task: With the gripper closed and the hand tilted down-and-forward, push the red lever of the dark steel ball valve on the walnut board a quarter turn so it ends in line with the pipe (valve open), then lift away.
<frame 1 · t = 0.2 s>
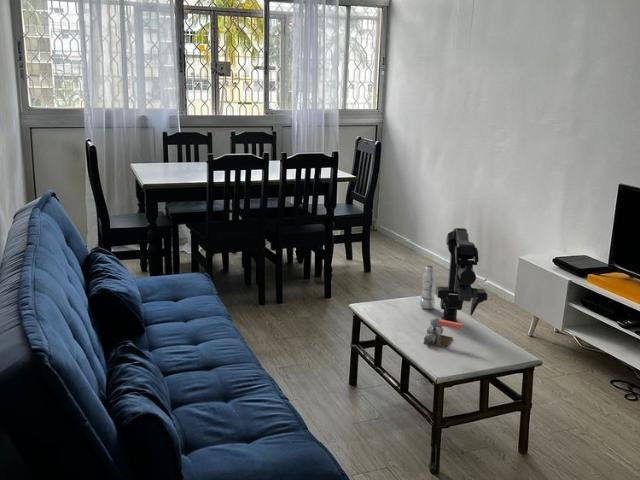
hand: (459, 314, 240), 15 cm above the table, tool pointing down, fingers open, 9 cm apart
plastic bottle: (427, 308, 285), on the table
lever: (446, 323, 247), point 8 cm above the table, hinge at 0.0°
valve: (433, 340, 252), on the table
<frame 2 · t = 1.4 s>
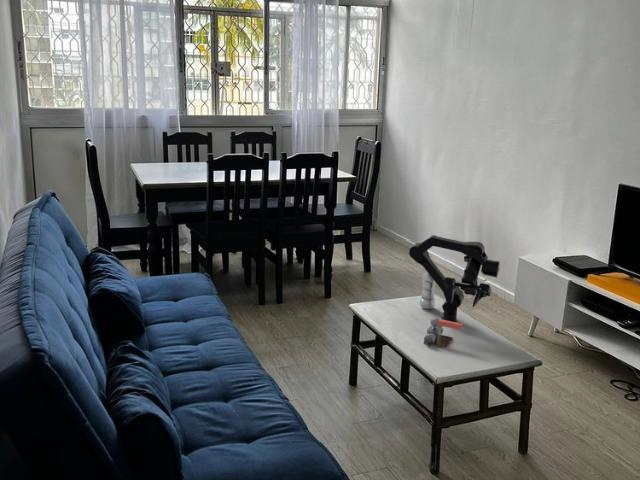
hand: (461, 304, 253), 14 cm above the table, tool tilted 45°, fingers open, 9 cm apart
nothing on the table moved.
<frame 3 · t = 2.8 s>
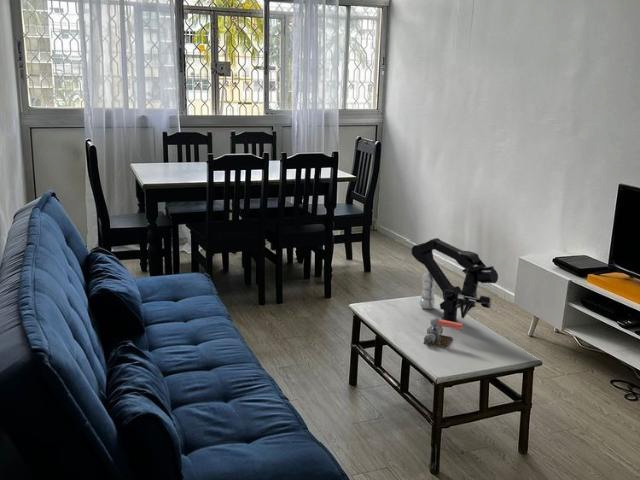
hand: (462, 318, 252), 9 cm above the table, tool tilted 40°, fingers closed
nothing on the table moved.
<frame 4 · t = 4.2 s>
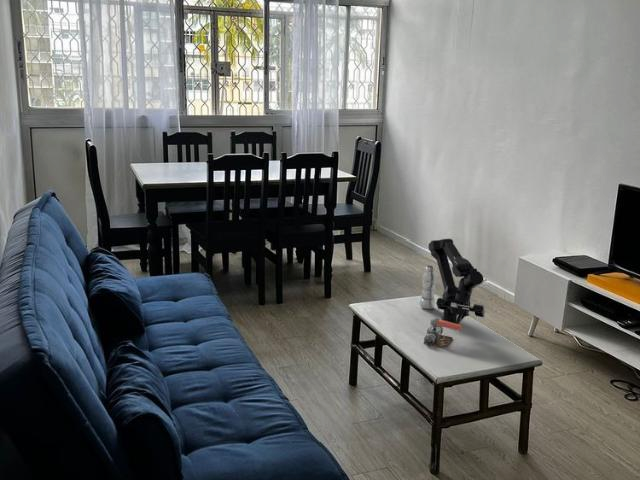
hand: (455, 326, 246), 8 cm above the table, tool tilted 45°, fingers closed, pressing on lever
lever: (445, 324, 247), point 8 cm above the table, hinge at 6.9°, touching gripper
everything else where it was.
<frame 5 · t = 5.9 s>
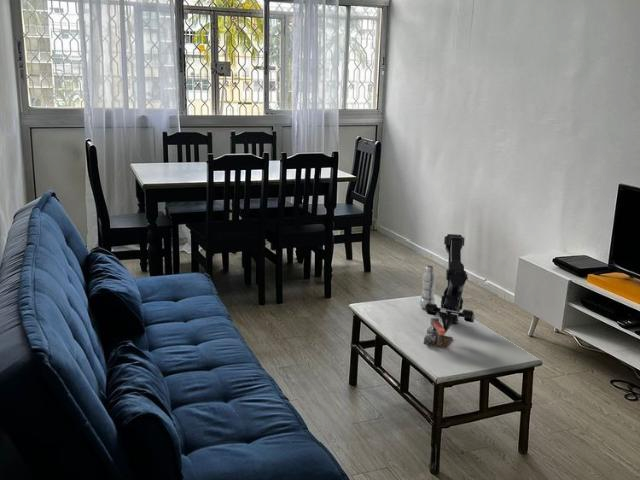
hand: (444, 332, 242), 7 cm above the table, tool tilted 45°, fingers closed
lever: (438, 326, 245), point 8 cm above the table, hinge at 57.2°, touching gripper
everything else where it was.
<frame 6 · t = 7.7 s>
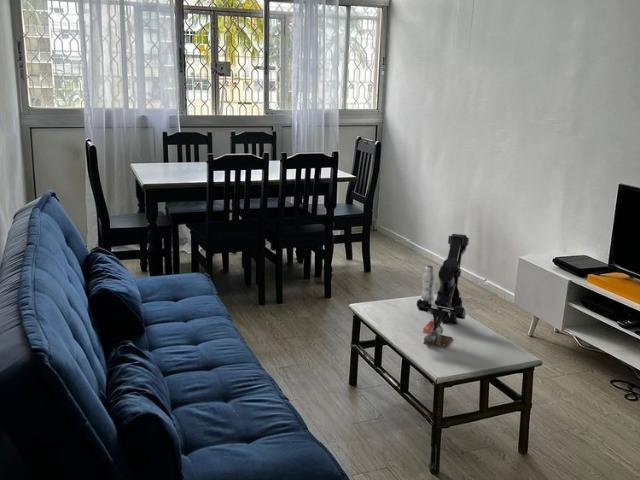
hand: (435, 328, 241), 9 cm above the table, tool tilted 45°, fingers closed
lever: (430, 325, 245), point 8 cm above the table, hinge at 91.7°
everything else where it was.
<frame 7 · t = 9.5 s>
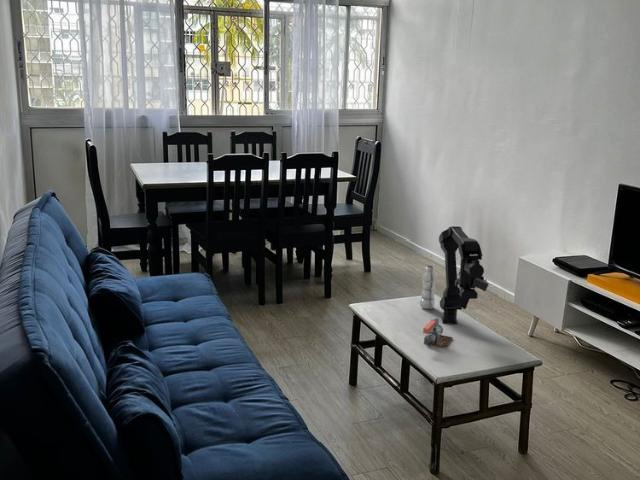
hand: (464, 308, 251), 13 cm above the table, tool pointing down, fingers closed
nothing on the table moved.
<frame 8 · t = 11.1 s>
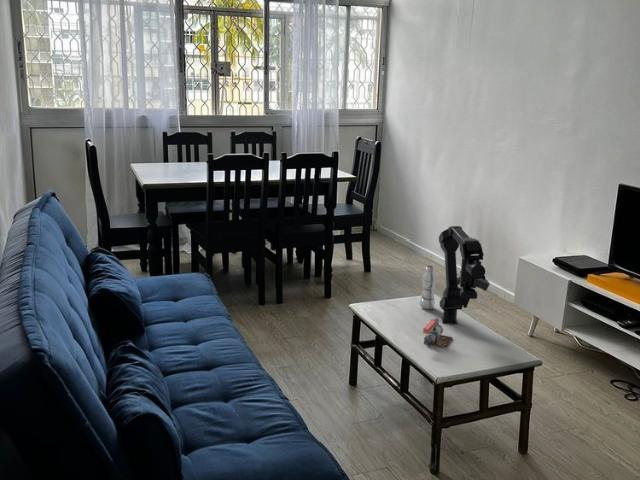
hand: (465, 307, 252), 13 cm above the table, tool pointing down, fingers closed
nothing on the table moved.
at the end: lever at +92° (first picture: +0°) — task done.
